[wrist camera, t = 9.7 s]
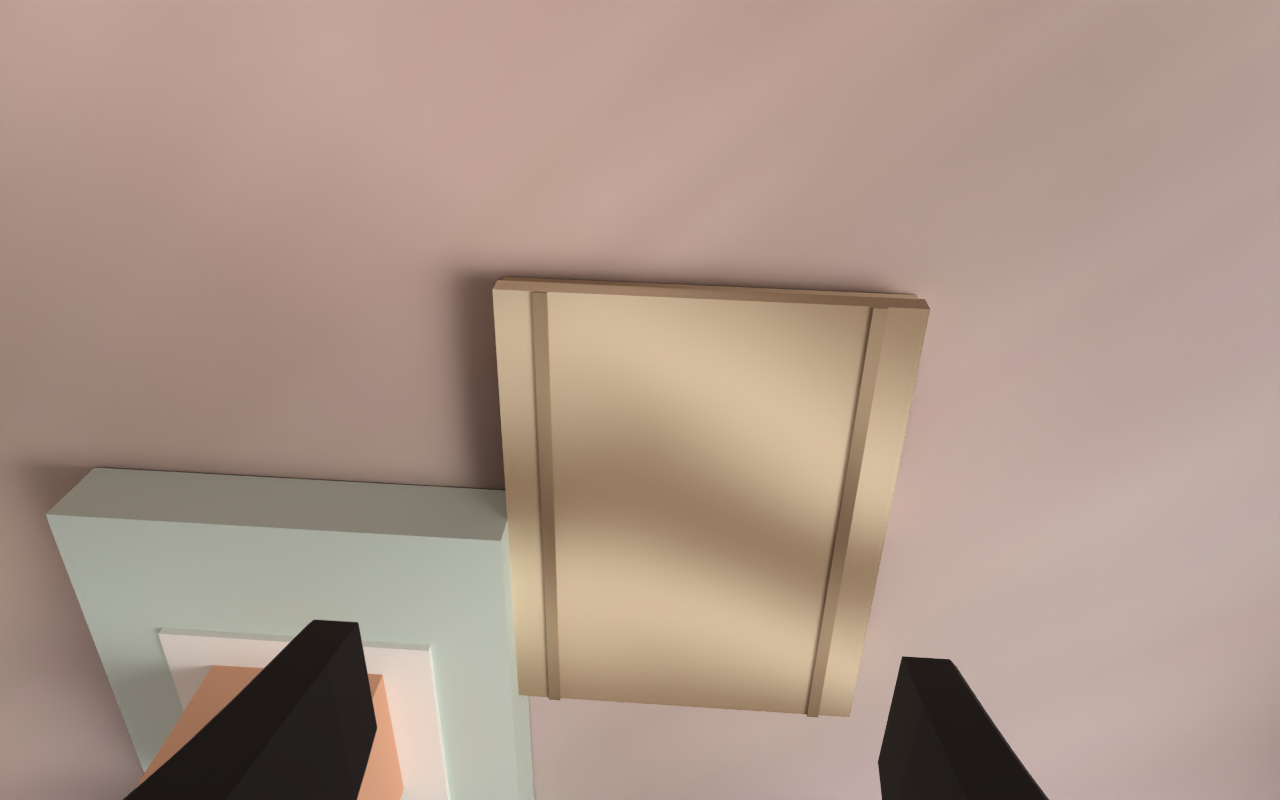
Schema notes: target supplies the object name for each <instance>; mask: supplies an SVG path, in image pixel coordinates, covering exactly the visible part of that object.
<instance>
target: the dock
mask: <svg viewBox="0 0 1280 800" xmlns="http://www.w3.org/2000/svg"><path fill="white" fill-rule="evenodd" d="M45 515H46V518H47V520H48V523H49V526H50V528H51V531H52V533H53V536H54V539H55V541H56V544H57V546H58V549H59V552H60V554H61V557H62V560H63V562H64V565H65V567H66V570H67V573H68V575H69V578H70V580H71V583H72V586H73V588H74V591H75V594H76V596H77V599H78V601H79V604H80V607H81V609H82V612H83V614H84V617H85V620H86V622H87V625H88V628H89V630H90V633H91V635H92V638H93V641H94V643H95V646H96V648H97V651H98V654H99V656H100V659H101V662H102V664H103V667H104V669H105V672H106V675H107V677H108V680H109V683H110V685H111V688H112V690H113V693H114V696H115V698H116V701H117V703H118V706H119V709H120V711H121V714H122V717H123V719H124V722H125V724H126V727H127V730H128V732H129V735H130V737H131V740H132V743H133V745H134V748H135V751H136V753H137V756H138V758H139V761H140V764H141V766H142V769H143V771H144V773H145V772H146V770H147V769H148V767H149V765H150V764H151V762H152V761H153V759H154V758H155V756H156V754H157V753H158V751H159V750H160V748H161V746H162V745H163V743H164V742H165V740H166V739H167V737H168V735H169V734H170V732H171V731H172V729H173V727H174V726H175V724H176V723H177V721H178V720H179V718H180V716H181V715H182V713H183V712H184V710H185V708H186V707H187V705H188V704H189V702H190V701H191V699H192V697H193V696H194V694H195V693H196V691H197V689H198V688H199V686H200V685H201V683H202V682H203V680H204V678H205V677H206V675H207V674H208V672H209V671H210V669H211V667H212V666H213V665H218V666H236V667H254V668H265V667H266V666H267V665H268V664H269V663H270V662H271V661H272V660H273V659H274V658H275V657H276V656H277V655H278V654H279V653H280V652H281V651H282V650H283V649H284V648H285V647H286V646H287V645H288V644H289V643H290V642H291V641H292V640H293V639H294V638H295V637H296V636H297V635H298V634H299V633H300V632H301V631H302V630H303V629H304V628H305V627H306V626H307V625H308V624H309V623H310V622H312V621H313V620H330V621H346V622H358V623H359V629H360V634H361V640H362V645H363V651H364V656H365V662H366V668H367V673H368V674H379V675H383V680H384V685H385V690H386V696H387V701H388V706H389V712H390V717H391V722H392V728H393V733H394V738H395V744H396V749H397V754H398V759H399V765H400V770H401V775H402V781H403V786H404V790H403V793H402V796H401V799H400V800H534V786H533V769H532V751H531V734H530V717H529V699H528V696H525V695H519V691H518V676H517V661H516V645H515V630H514V614H513V599H512V584H511V568H510V553H509V538H508V522H507V507H506V492H505V490H488V489H470V488H453V487H435V486H417V485H399V484H381V483H363V482H345V481H327V480H309V479H291V478H273V477H255V476H237V475H219V474H201V473H183V472H165V471H147V470H129V469H111V468H93V469H92V470H91V471H90V472H89V473H88V474H87V475H86V476H85V477H84V478H83V479H82V480H81V481H80V482H79V483H78V484H77V485H76V486H75V487H74V488H72V489H71V490H70V491H69V492H68V493H67V494H66V495H65V496H64V497H63V498H62V499H61V500H60V501H59V502H58V503H57V504H56V505H55V506H54V507H53V508H52V509H50V510H49V511H48V512H47V513H46V514H45Z"/></svg>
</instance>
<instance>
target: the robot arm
mask: <svg viewBox="0 0 1280 800" xmlns="http://www.w3.org/2000/svg"><path fill="white" fill-rule="evenodd" d="M376 731H377V723H376V717H375V712H374V706H373V701H372V695H371V690H370V684H369V679H368V673H367V668H366V662H365V656H364V651H363V645H362V640H361V634H360V629H359V623H358V622H346V621H330V620H313V621H312V622H310V623H309V624H308V625H307V626H306V627H305V628H304V629H303V630H302V631H301V632H300V633H299V634H298V635H297V636H296V637H295V638H294V639H293V640H292V641H291V642H290V643H289V644H288V645H287V646H286V647H285V648H284V649H283V650H282V651H281V652H280V653H279V654H278V655H277V656H276V657H275V658H274V659H273V660H272V661H271V662H270V663H269V664H268V665H267V666H266V667H265V668H264V669H263V670H262V671H261V672H260V673H259V674H258V675H257V676H256V677H255V678H254V679H253V680H252V681H251V682H250V683H249V684H248V685H247V686H246V687H245V688H244V689H243V690H242V691H241V692H240V693H239V694H238V695H237V696H236V697H235V698H233V699H232V700H231V701H230V702H229V703H228V704H227V705H226V706H225V707H224V708H223V709H222V710H221V711H220V712H219V713H218V714H217V715H216V716H215V717H214V718H213V719H211V720H210V721H209V722H208V723H207V724H206V725H205V726H204V727H203V728H202V729H201V730H200V731H199V732H198V733H197V734H196V735H195V736H194V737H193V738H192V739H190V740H189V741H188V742H187V743H186V744H185V745H184V746H183V747H182V748H181V749H180V750H179V751H178V752H176V753H175V754H174V755H173V756H172V757H171V758H170V759H169V760H167V761H166V762H165V763H164V764H163V765H162V766H161V767H160V768H158V769H157V770H156V771H155V772H154V773H153V774H152V775H150V776H149V777H148V778H147V779H146V780H145V781H144V782H142V783H141V784H140V785H139V786H138V787H137V788H136V789H134V790H133V791H132V792H131V793H130V794H129V795H128V796H126V797H125V798H124V799H123V800H357V798H358V794H359V791H360V788H361V784H362V781H363V778H364V774H365V771H366V767H367V764H368V760H369V756H370V753H371V749H372V746H373V742H374V738H375V735H376ZM878 765H879V774H880V783H881V792H882V800H1049V799H1048V798H1047V796H1046V795H1045V794H1044V792H1043V791H1042V790H1041V788H1040V787H1039V786H1038V784H1037V783H1036V782H1035V780H1034V779H1033V778H1032V776H1031V775H1030V774H1029V772H1028V771H1027V770H1026V768H1025V767H1024V765H1023V764H1022V763H1021V761H1020V760H1019V759H1018V757H1017V756H1016V754H1015V753H1014V752H1013V750H1012V749H1011V747H1010V746H1009V744H1008V743H1007V741H1006V740H1005V739H1004V737H1003V736H1002V734H1001V733H1000V731H999V730H998V729H997V727H996V726H995V724H994V723H993V721H992V720H991V718H990V717H989V715H988V714H987V712H986V711H985V709H984V708H983V706H982V705H981V703H980V702H979V700H978V699H977V697H976V696H975V694H974V693H973V691H972V690H971V688H970V687H969V685H968V684H967V682H966V681H965V679H964V678H963V676H962V675H961V673H960V672H959V670H958V668H957V667H956V666H955V665H954V664H953V663H952V661H951V660H949V659H933V658H918V657H902V660H901V664H900V668H899V673H898V677H897V681H896V686H895V690H894V695H893V699H892V703H891V708H890V712H889V716H888V721H887V725H886V730H885V734H884V738H883V743H882V747H881V751H880V756H879V760H878Z"/></svg>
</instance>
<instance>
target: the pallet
mask: <svg viewBox="0 0 1280 800" xmlns="http://www.w3.org/2000/svg"><path fill="white" fill-rule="evenodd" d="M492 292H493V308H494V323H495V338H496V354H497V369H498V384H499V400H500V415H501V430H502V446H503V461H504V476H505V492H506V507H507V522H508V538H509V553H510V568H511V584H512V599H513V614H514V630H515V645H516V661H517V676H518V691H519V695H525V696H540V697H549V699H550V700H560V698H570V699H585V700H600V701H615V702H631V703H646V704H661V705H676V706H691V707H706V708H721V709H736V710H751V711H767V712H782V713H797V714H807V717H818V715H827V716H842V717H850V712H851V707H852V702H853V697H854V691H855V686H856V681H857V676H858V671H859V666H860V661H861V656H862V651H863V646H864V641H865V636H866V631H867V626H868V621H869V616H870V610H871V605H872V600H873V595H874V590H875V585H876V580H877V575H878V570H879V565H880V560H881V555H882V550H883V545H884V540H885V534H886V529H887V524H888V519H889V514H890V509H891V504H892V499H893V494H894V489H895V484H896V479H897V474H898V469H899V464H900V459H901V453H902V448H903V443H904V438H905V433H906V428H907V423H908V418H909V413H910V408H911V403H912V398H913V393H914V388H915V383H916V377H917V372H918V367H919V362H920V357H921V352H922V347H923V342H924V337H925V332H926V327H927V322H928V317H929V312H930V308H929V306H928V305H927V303H926V301H925V299H918V297H917V295H905V294H882V293H860V292H838V291H815V290H793V289H771V288H748V287H726V286H704V285H681V284H659V283H636V282H614V281H592V280H569V279H547V278H525V277H504V278H503V280H497V281H496V283H495V285H494V287H493V289H492Z"/></svg>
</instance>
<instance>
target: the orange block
mask: <svg viewBox="0 0 1280 800" xmlns="http://www.w3.org/2000/svg"><path fill="white" fill-rule="evenodd" d="M263 669H264V668H254V667H236V666H218V665H213V666H212V667H211V669H210V671H209V672H208V674H207V675H206V677H205V678H204V680H203V682H202V683H201V685H200V686H199V688H198V689H197V691H196V693H195V694H194V696H193V697H192V699H191V701H190V702H189V704H188V705H187V707H186V708H185V710H184V712H183V713H182V715H181V716H180V718H179V720H178V721H177V723H176V724H175V726H174V727H173V729H172V731H171V732H170V734H169V735H168V737H167V739H166V740H165V742H164V743H163V745H162V746H161V748H160V750H159V751H158V753H157V754H156V756H155V758H154V759H153V761H152V762H151V764H150V765H149V767H148V769H147V770H146V772H145V773H144V775H143V776H142V778H141V780H140V781H139V783H138V784H137V786H136V788H137V787H138V786H139V785H140V784H141V783H142V782H144V781H145V780H146V779H147V778H148V777H149V776H150V775H152V774H153V773H154V772H155V771H156V770H157V769H158V768H160V767H161V766H162V765H163V764H164V763H165V762H166V761H167V760H169V759H170V758H171V757H172V756H173V755H174V754H175V753H176V752H178V751H179V750H180V749H181V748H182V747H183V746H184V745H185V744H186V743H187V742H188V741H189V740H190V739H192V738H193V737H194V736H195V735H196V734H197V733H198V732H199V731H200V730H201V729H202V728H203V727H204V726H205V725H206V724H207V723H208V722H209V721H210V720H211V719H213V718H214V717H215V716H216V715H217V714H218V713H219V712H220V711H221V710H222V709H223V708H224V707H225V706H226V705H227V704H228V703H229V702H230V701H231V700H232V699H233V698H235V697H236V696H237V695H238V694H239V693H240V692H241V691H242V690H243V689H244V688H245V687H246V686H247V685H248V684H249V683H250V682H251V681H252V680H253V679H254V678H255V677H256V676H257V675H258V674H259V673H260V672H261V671H262V670H263ZM368 679H369V684H370V690H371V695H372V701H373V706H374V712H375V717H376V723H377V731H376V735H375V738H374V742H373V746H372V749H371V753H370V756H369V760H368V764H367V767H366V771H365V774H364V778H363V781H362V784H361V788H360V791H359V794H358V798H357V800H400V799H401V796H402V793H403V790H404V786H403V781H402V775H401V770H400V765H399V759H398V754H397V749H396V744H395V738H394V733H393V728H392V722H391V717H390V712H389V706H388V701H387V696H386V690H385V685H384V680H383V675H379V674H368ZM136 788H135V789H136ZM129 794H130V793H129Z"/></svg>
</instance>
